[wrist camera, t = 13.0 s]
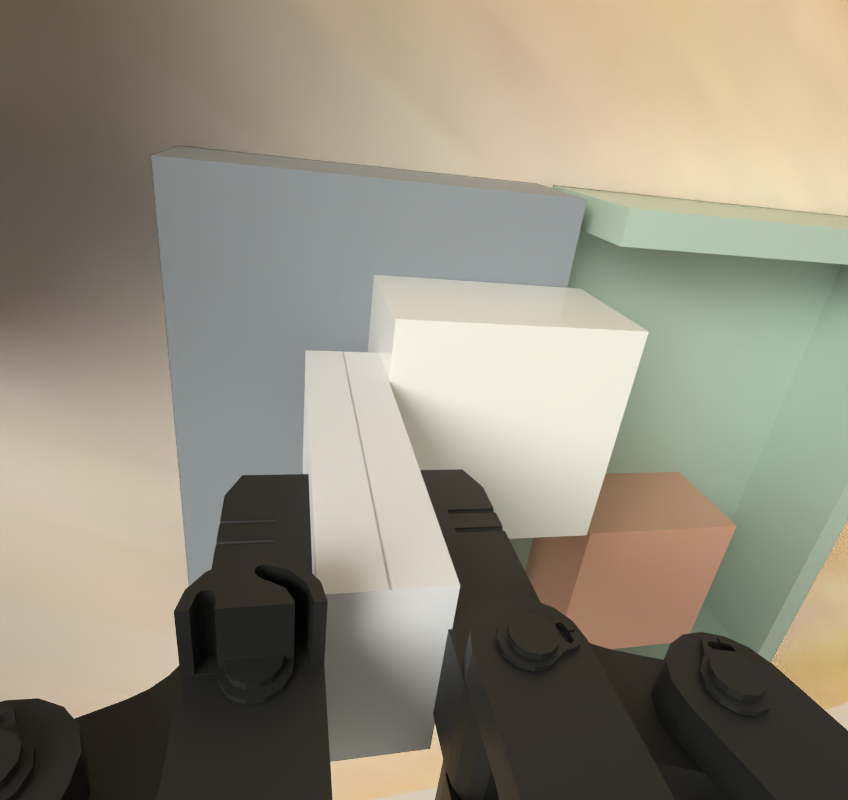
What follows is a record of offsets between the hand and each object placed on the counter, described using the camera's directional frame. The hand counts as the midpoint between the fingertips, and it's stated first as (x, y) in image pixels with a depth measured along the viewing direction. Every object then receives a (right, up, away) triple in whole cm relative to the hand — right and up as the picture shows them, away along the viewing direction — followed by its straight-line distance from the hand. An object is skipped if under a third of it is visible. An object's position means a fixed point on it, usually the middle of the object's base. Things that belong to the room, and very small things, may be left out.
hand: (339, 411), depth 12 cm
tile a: (+8, -4, +9) cm, 13 cm away
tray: (+10, -1, +8) cm, 13 cm away
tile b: (+3, +1, +2) cm, 4 cm away
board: (0, -1, +6) cm, 6 cm away
